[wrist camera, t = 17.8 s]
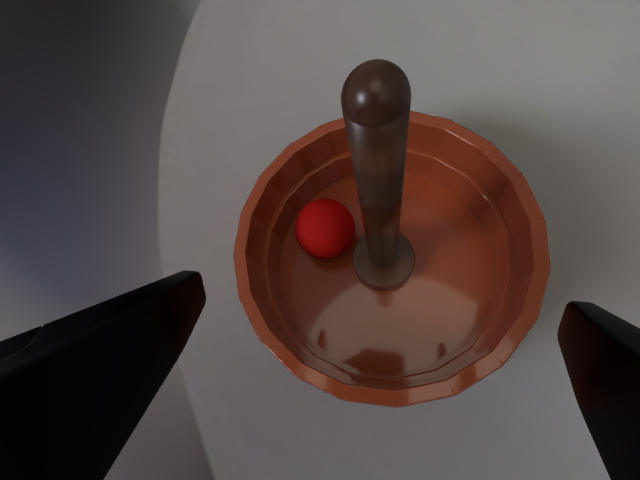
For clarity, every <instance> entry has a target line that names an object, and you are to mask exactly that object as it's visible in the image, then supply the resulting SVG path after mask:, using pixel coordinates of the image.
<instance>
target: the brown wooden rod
mask: <svg viewBox="0 0 640 480" xmlns="http://www.w3.org/2000/svg"><path fill="white" fill-rule="evenodd" d="M410 104H411V87H410V84H409V81H408V78H407V76H406V75H405V73H404V72H403V71H402V70H401V69H400V68H399V67H398V66H397V65H395V64H394V63H392V62H389V61H387V60H382V59H375V60H369V61H366V62H364V63H362V64H360V65H359V66H357V67H356V68H355V69H354V70H353V71H352V72H351V73H350V74H349V75H348V77H347V79H346V81H345V83H344V85H343V89H342V93H341V106H342V111H343V117H344V122H345V128H346V133H347V139H348V144H349V150H350V155H351V160H352V166H353V171H354V177H355V182H356V188H357V193H358V199H359V204H360V210H361V215H362V220H363V226H364V231H365V234H364V235H363V236H362V237H361V238H360V239H359V240H358V241H357V243H356V245H355V247H354V249H353V254H352V261H353V266H354V269H355V272H356V274H357V276H358V277H359V279H360V280H361V281H362V282H363V283H364V284H365V285H367V286H368V287H370V288H372V289H375V290H379V291H388V290H393V289H396V288H398V287H400V286H401V285H403V284H404V283H405V282H406V281H407V280H408V278H409V277H410V275H411V273H412V270H413V267H414V263H415V254H414V249H413V247H412V245H411V243H410V242H409V240H408V239H407V238H406V237H405V236H404V235H403V234H401V233H400V232H399V227H400V216H401V205H402V194H403V183H404V171H405V160H406V149H407V138H408V126H409V115H410Z"/></svg>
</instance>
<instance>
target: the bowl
mask: <svg viewBox="0 0 640 480" xmlns="http://www.w3.org/2000/svg"><path fill="white" fill-rule="evenodd" d="M322 198H328V199H333V200H336V201H338V202H340V203H342V204H343V205H344V206H346V207H347V209H348V210H349V211H350V213H351V214H352V216H353V219H354V223H355V234H354V238H353V241H352V243H351V244H350V246H349V247H348V248H347V250H345V251H344V252H343V253H342V254H340V255H338V256H336V257H333V258H329V259H321V258H316V257H313V256H311V255H309V254H308V253H306V252H305V251H304V250H303V249H302V248H301V246H300V245H299V243H298V241H297V239H296V236H295V221H296V218H297V216H298V214H299V212H300V211H301V209H302V208H303V207H304V206H305V205H307V204H308V203H310V202H311V201H314V200H316V199H322ZM399 232H400V233H401V234H403V235H404V236H405V237H406V238H407V239H408V240H409V242H410V243H411V245H412V247H413V249H414V254H415V263H414V267H413V270H412V273H411V275H410V277H409V278H408V280H407V281H406V282H405V283H404V284H403V285H401V286H400V287H398V288H396V289H393V290H388V291H379V290H375V289H372V288H370V287H368V286H367V285H365V284H364V283H363V282H362V281H361V280H360V279H359V277H358V276H357V274H356V272H355V269H354V266H353V261H352V254H353V249H354V247H355V245H356V243H357V241H358V240H359V239H360V238H361V237H362V236H363V235H364V234H365V231H364V226H363V220H362V215H361V210H360V204H359V199H358V193H357V188H356V182H355V177H354V171H353V166H352V160H351V155H350V150H349V144H348V139H347V133H346V128H345V122H344V118H341V119H338V120H334V121H331V122H328V123H325V124H324V125H321V126H319V127H318V128H316V129H314V130H313V131H311V132H309V133H308V134H306V135H305V136H303V137H301V138H300V139H298V140H296V141H295V142H293V143H292V144H290V145H289V146H287V147H286V148H285V149H284V150H283V151H282V153H281V154H280V155H279V156H278V157H277V158H276V159H275V160H274V161H273V162H272V163H271V164H270V165H269V166H268V167H267V168H266V170H265V171H264V172H263V173H262V174H261V175H260V176H259V178H258V180H257V182H256V184H255V186H254V187H253V189H252V191H251V193H250V195H249V197H248V199H247V201H246V203H245V205H244V207H243V209H242V211H241V215H240V220H239V226H238V231H237V237H236V242H235V247H234V254H233V257H234V264H235V272H236V280H237V288H238V296H239V299H240V301H241V304H242V306H243V308H244V310H245V312H246V314H247V316H248V318H249V320H250V322H251V324H252V326H253V329H254V331H255V333H256V335H257V337H258V339H259V340H260V342H261V343H262V344H263V345H264V346H265V347H266V348H267V349H268V350H269V351H270V352H271V353H272V354H273V355H274V356H275V357H276V358H277V359H278V360H279V361H280V362H281V363H282V364H283V365H284V366H285V367H286V368H287V369H288V370H289V371H290V372H291V373H292V374H293V375H295V376H296V377H297V378H299V379H301V380H303V381H305V382H307V383H309V384H311V385H313V386H315V387H317V388H319V389H321V390H323V391H325V392H327V393H329V394H331V395H333V396H335V397H337V398H339V399H341V400H342V399H343V400H344V401H351V402H359V403H366V404H374V405H381V406H389V407H396V408H397V407H398V406H399V407H405V406H410V405H414V404H419V403H424V402H428V401H433V400H438V399H443V398H447V397H452V396H454V395H458V394H459V393H461V392H462V391H464V390H465V389H467V388H469V387H470V386H472V385H473V384H475V383H477V382H478V381H480V380H481V379H483V378H484V377H486V376H488V375H489V374H491V373H492V372H494V371H496V370H497V369H499V368H500V367H502V366H503V364H505V363H506V362H507V360H508V359H509V357H510V356H511V355H512V353H513V352H514V351H515V349H516V348H517V347H518V345H519V344H520V343H521V341H522V340H523V339H524V337H525V336H526V335H527V333H528V332H529V331H530V329H531V328H532V327H533V325H534V324H535V322H536V320H537V319H538V315H539V311H540V307H541V304H542V300H543V296H544V293H545V289H546V285H547V281H548V278H549V274H550V260H549V250H548V241H547V232H546V223H545V220H544V216H543V214H542V212H541V210H540V207H539V205H538V203H537V201H536V199H535V197H534V195H533V193H532V191H531V189H530V187H529V185H528V183H527V181H526V179H525V177H524V176H523V174H522V173H521V172H520V171H519V170H518V169H517V168H516V167H515V166H514V165H513V164H512V163H511V162H510V161H509V160H508V159H507V158H506V157H505V156H504V155H503V154H502V153H501V152H500V151H499V150H498V149H497V148H496V147H495V146H494V145H493V144H492V143H491V142H490V141H488V140H486V139H485V138H483V137H481V136H479V135H477V134H475V133H473V132H472V131H470V130H468V129H466V128H464V127H462V126H461V125H459V124H457V123H455V122H453V121H451V120H449V119H445V118H440V117H436V116H431V115H427V114H423V113H418V112H414V111H410V115H409V126H408V138H407V149H406V160H405V171H404V183H403V194H402V205H401V216H400V227H399Z"/></svg>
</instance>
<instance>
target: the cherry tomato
mask: <svg viewBox="0 0 640 480" xmlns="http://www.w3.org/2000/svg"><path fill="white" fill-rule="evenodd" d="M354 234H355V223H354V219H353V216H352V214H351V213H350V211H349V210H348V209H347V207H346V206H344V205H343V204H342V203H340V202H338V201H336V200H333V199H328V198H322V199H316V200H314V201H311V202H310V203H308V204H307V205H305V206H304V207H303V208H302V209H301V211H300V212H299V214H298V216H297V218H296V221H295V236H296V239H297V241H298V243H299V245H300V246H301V248H302V249H303V250H304V251H305V252H306V253H308V254H309V255H311V256H313V257H316V258H321V259H329V258H333V257H336V256H338V255H340V254H342V253H343V252H344V251H345V250H347V248H348V247H349V246H350V244H351V243H352V241H353V238H354Z"/></svg>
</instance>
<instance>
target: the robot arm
mask: <svg viewBox="0 0 640 480" xmlns="http://www.w3.org/2000/svg"><path fill="white" fill-rule="evenodd" d="M205 302H206V295H205V290H204V286H203V282H202V277H201V275H200V273H199V272H197V271H181V272H179V273H176V274H174V275H171V276H168V277H166V278H163V279H161V280H158V281H156V282H153V283H150V284H148V285H145V286H143V287H140V288H138V289H135V290H132V291H130V292H127V293H125V294H122V295H119V296H117V297H114V298H112V299H109V300H107V301H104V302H101V303H99V304H96V305H94V306H91V307H89V308H86V309H84V310H81V311H78V312H76V313H73V314H70V315H68V316H65V317H63V318H60V319H58V320H55V321H52V322H50V323H47V324H45V325H43V327H41V326H40V327H37V328H34V329H32V330H29V331H26V332H24V333H21V334H19V335H16V336H13V337H11V338H8V339H5V340H3V341H0V480H103V479H104V478H105V476H106V475H107V473H108V471H109V470H110V468H111V467H112V465H113V463H114V462H115V460H116V458H117V457H118V455H119V454H120V452H121V450H122V449H123V447H124V445H125V444H126V442H127V440H128V439H129V437H130V436H131V434H132V432H133V431H134V429H135V427H136V426H137V424H138V423H139V421H140V419H141V418H142V416H143V415H144V413H145V411H146V410H147V408H148V406H149V405H150V403H151V401H152V400H153V398H154V397H155V395H156V393H157V392H158V390H159V388H160V387H161V385H162V384H163V382H164V380H165V379H166V377H167V376H168V374H169V372H170V371H171V369H172V367H173V366H174V364H175V362H176V361H177V359H178V358H179V356H180V354H181V352H182V351H183V349H184V347H185V345H186V343H187V341H188V339H189V337H190V335H191V333H192V331H193V328H194V326H195V324H196V322H197V320H198V318H199V316H200V314H201V312H202V310H203V308H204V306H205ZM558 342H559V345H560V348H561V352H562V355H563V358H564V361H565V365H566V368H567V371H568V374H569V378H570V381H571V384H572V387H573V391H574V394H575V397H576V400H577V403H578V405H579V408H580V410H581V413H582V415H583V417H584V420H585V422H586V424H587V426H588V429H589V431H590V433H591V436H592V438H593V440H594V442H595V445H596V447H597V449H598V451H599V454H600V456H601V458H602V461H603V463H604V465H605V467H606V470H607V472H608V474H609V476H610V479H611V480H640V328H638V327H636V326H634V325H632V324H630V323H628V322H627V321H625V320H623V319H621V318H619V317H617V316H615V315H614V314H612V313H610V312H608V311H606V310H604V309H603V308H601V307H599V306H597V305H595V304H593V303H590V302H579V301H571V302H569V303H568V304H567V305H566V307H565V310H564V313H563V316H562V319H561V322H560V325H559V328H558Z"/></svg>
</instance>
